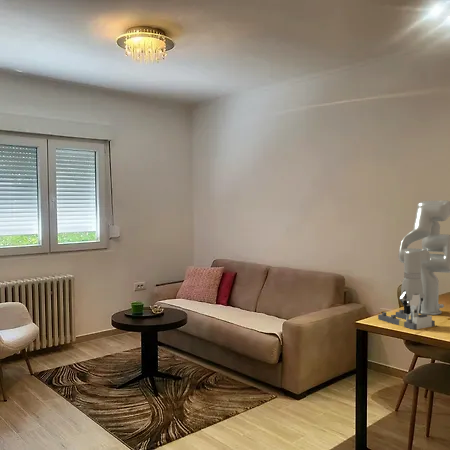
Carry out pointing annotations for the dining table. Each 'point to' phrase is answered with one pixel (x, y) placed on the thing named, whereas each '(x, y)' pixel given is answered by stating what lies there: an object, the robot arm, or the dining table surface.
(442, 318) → the dining table surface
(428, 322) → the cable comb
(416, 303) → the beer glass
